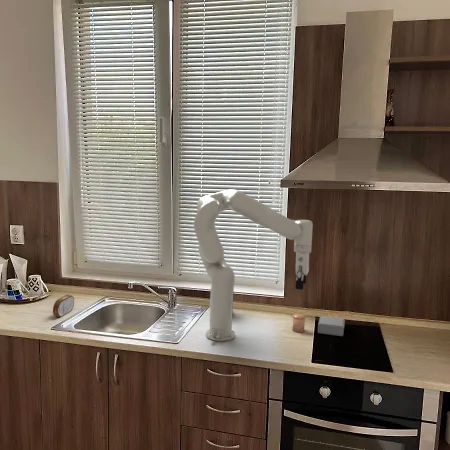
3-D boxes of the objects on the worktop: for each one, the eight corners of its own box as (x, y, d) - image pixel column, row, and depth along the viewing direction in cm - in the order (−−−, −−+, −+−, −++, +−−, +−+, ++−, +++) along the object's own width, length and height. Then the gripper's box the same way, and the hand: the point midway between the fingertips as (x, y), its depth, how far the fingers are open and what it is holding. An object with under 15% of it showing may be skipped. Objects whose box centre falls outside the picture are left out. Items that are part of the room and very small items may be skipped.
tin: (69, 308, 223) (69, 292, 221) (75, 309, 222) (75, 292, 221) (52, 319, 208) (51, 301, 207) (58, 319, 207) (58, 302, 206)
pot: (303, 333, 200) (304, 318, 198) (291, 332, 201) (292, 316, 200) (305, 329, 205) (306, 314, 204) (293, 327, 206) (293, 312, 205)
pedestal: (343, 336, 198) (343, 326, 197) (317, 332, 201) (318, 323, 200) (344, 327, 208) (344, 318, 208) (319, 324, 211) (320, 315, 211)
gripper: (309, 252, 188) (307, 292, 191) (313, 245, 205) (311, 281, 207) (291, 251, 190) (289, 290, 193) (296, 243, 207) (294, 280, 209)
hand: (300, 286), depth 200 cm, fingers open, 9 cm apart
